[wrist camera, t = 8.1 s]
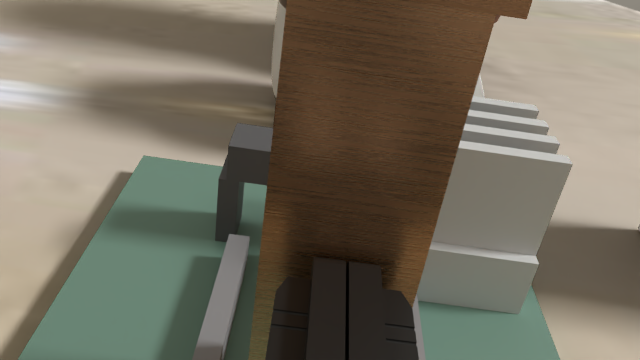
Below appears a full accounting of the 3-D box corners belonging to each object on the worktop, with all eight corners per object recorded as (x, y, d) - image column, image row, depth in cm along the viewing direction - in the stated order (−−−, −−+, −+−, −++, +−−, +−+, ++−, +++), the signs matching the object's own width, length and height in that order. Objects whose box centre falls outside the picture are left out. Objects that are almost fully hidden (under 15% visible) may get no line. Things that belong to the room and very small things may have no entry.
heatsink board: (495, 222, 31) (542, 85, 27) (775, 1009, 11) (1123, 902, 7) (144, 172, 31) (141, 26, 27) (-284, 901, 10) (-556, 717, 6)
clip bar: (371, 268, 25) (457, -107, 18) (380, 485, 17) (546, -44, 10) (264, 253, 25) (307, -131, 18) (221, 465, 17) (268, -86, 9)
